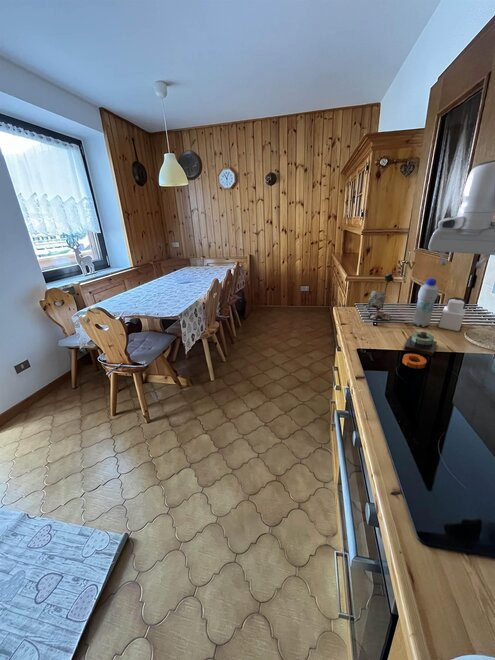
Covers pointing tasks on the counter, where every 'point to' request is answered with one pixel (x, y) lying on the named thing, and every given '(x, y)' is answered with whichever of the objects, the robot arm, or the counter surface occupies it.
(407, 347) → the spindle
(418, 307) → the bottle
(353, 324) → the counter surface
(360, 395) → the counter surface
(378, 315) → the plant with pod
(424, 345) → the charcoal ring
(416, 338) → the sage ring
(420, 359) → the orange ring
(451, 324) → the medicine bottle
